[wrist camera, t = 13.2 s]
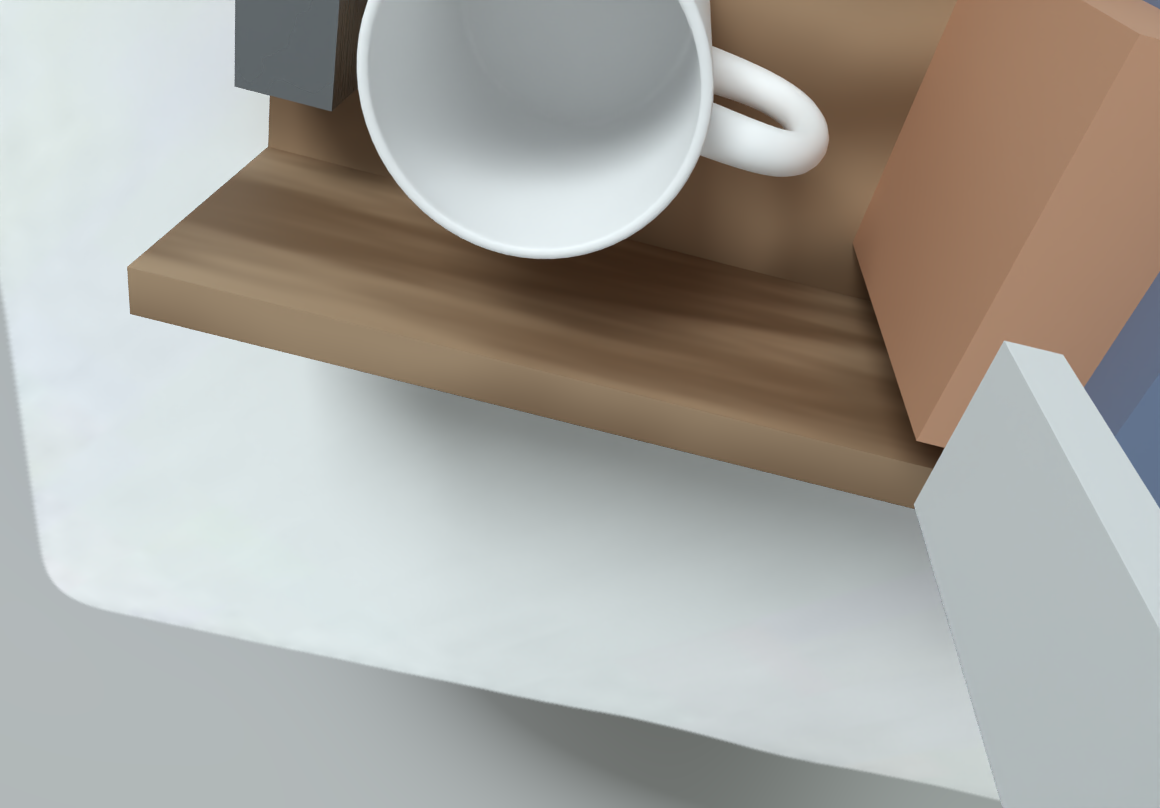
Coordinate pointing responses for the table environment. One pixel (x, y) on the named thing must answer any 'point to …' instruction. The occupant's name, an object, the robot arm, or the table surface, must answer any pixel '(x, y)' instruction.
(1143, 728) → the robot arm
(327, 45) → the grey rectangular block
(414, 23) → the cup
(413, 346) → the wooden book rack
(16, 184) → the table surface
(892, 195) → the books
